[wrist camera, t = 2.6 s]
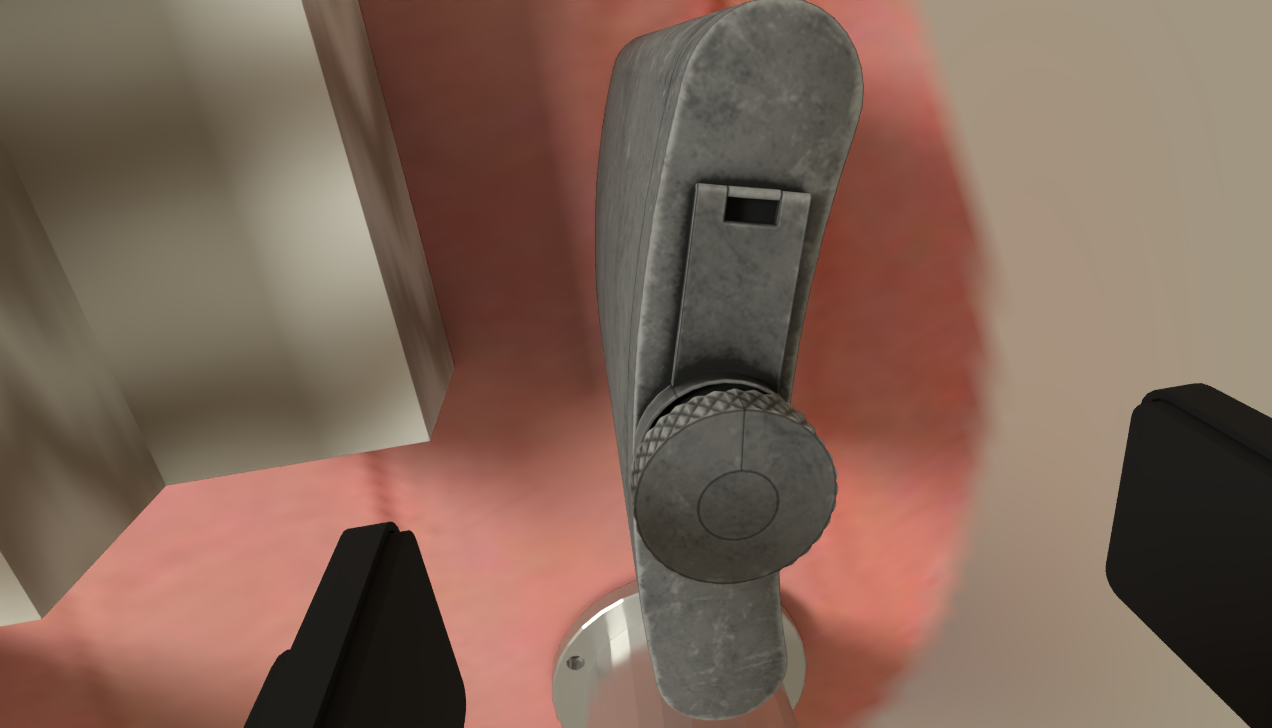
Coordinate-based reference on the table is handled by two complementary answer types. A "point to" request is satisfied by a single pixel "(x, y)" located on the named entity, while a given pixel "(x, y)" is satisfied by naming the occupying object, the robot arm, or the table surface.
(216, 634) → the table surface
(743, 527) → the flask
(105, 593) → the table surface
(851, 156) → the table surface
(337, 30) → the stone display stand
